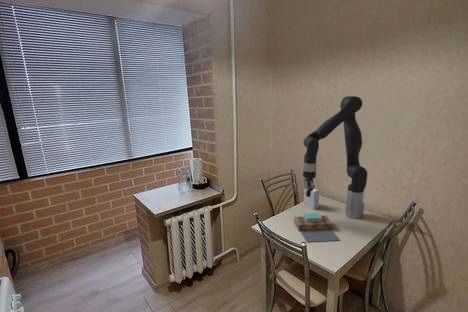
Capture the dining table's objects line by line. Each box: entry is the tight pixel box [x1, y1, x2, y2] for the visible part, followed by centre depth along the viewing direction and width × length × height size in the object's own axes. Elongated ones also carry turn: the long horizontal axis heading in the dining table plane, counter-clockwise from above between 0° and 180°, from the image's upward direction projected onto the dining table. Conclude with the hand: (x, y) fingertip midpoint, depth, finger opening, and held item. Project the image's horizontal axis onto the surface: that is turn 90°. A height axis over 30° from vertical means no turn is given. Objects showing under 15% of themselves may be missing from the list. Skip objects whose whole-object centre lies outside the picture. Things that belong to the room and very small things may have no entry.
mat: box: [300, 230, 341, 243], centre depth 138 cm, size 18×11×1 cm, turn 92°
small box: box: [303, 188, 320, 211], centre depth 173 cm, size 8×6×13 cm
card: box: [303, 212, 322, 222], centre depth 148 cm, size 9×6×2 cm, turn 92°
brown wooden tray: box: [293, 214, 334, 232], centre depth 148 cm, size 20×10×4 cm, turn 92°
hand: (308, 196), depth 155 cm, fingers closed
